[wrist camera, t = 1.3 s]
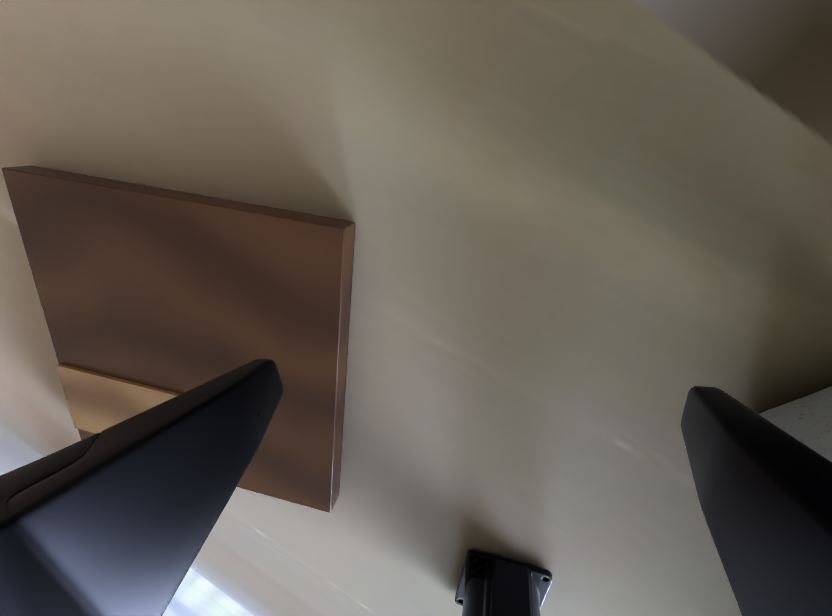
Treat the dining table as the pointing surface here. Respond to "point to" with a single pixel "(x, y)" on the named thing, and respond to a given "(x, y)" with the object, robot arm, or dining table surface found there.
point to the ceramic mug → (807, 420)
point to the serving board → (193, 310)
